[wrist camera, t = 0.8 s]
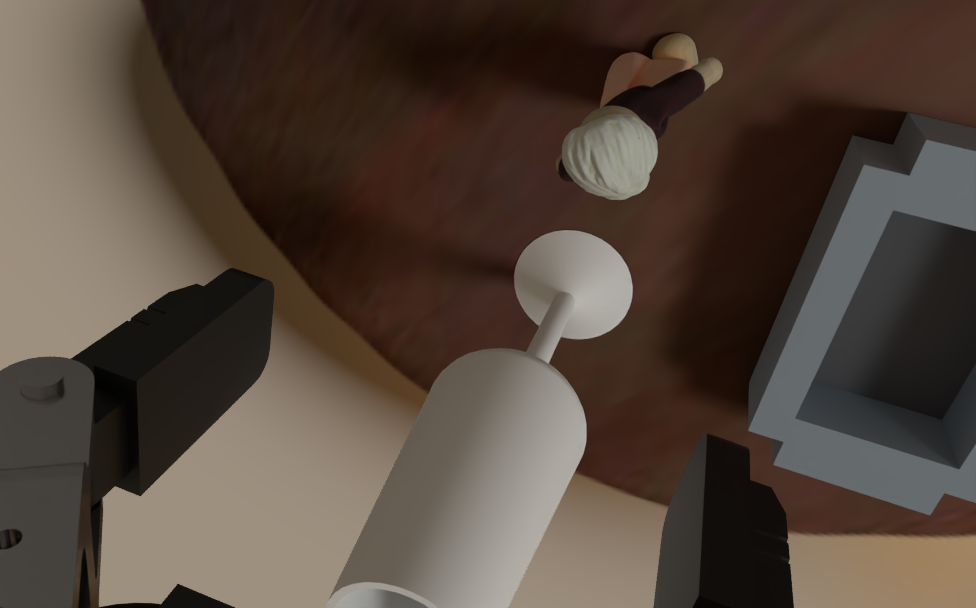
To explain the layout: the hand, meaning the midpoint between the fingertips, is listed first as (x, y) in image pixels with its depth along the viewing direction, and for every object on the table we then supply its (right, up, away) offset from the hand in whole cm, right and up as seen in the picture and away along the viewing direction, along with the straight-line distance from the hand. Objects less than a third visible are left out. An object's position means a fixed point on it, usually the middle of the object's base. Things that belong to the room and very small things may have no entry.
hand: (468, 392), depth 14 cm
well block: (+21, +2, +23) cm, 31 cm away
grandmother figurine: (+8, +12, +23) cm, 27 cm away
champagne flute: (+5, +3, +29) cm, 29 cm away
